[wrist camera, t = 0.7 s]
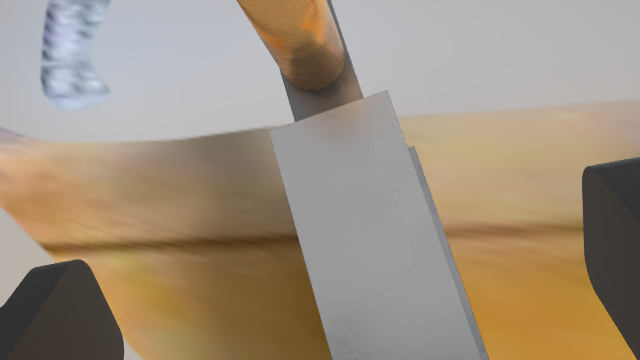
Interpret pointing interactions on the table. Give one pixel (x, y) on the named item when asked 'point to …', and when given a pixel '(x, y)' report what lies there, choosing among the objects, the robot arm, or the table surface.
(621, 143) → the table surface
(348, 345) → the grey sleeve
